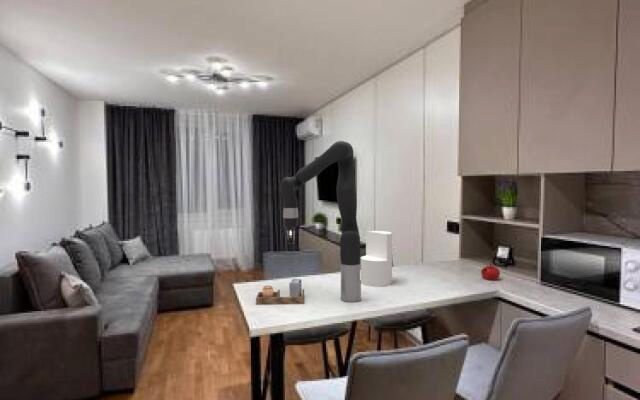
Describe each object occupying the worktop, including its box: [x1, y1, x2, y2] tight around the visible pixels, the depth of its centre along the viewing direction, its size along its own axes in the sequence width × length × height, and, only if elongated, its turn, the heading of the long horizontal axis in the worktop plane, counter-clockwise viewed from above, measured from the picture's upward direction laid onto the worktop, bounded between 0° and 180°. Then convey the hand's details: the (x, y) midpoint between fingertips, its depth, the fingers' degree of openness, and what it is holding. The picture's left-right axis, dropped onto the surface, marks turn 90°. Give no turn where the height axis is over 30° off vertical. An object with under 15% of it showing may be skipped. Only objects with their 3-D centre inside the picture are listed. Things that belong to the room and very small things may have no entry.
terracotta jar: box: [261, 285, 274, 297], centre depth 176 cm, size 5×5×7 cm
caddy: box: [255, 288, 305, 306], centre depth 178 cm, size 22×13×4 cm, turn 92°
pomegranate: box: [480, 262, 501, 281], centre depth 217 cm, size 10×10×9 cm
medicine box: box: [289, 278, 303, 297], centre depth 181 cm, size 8×4×9 cm, turn 172°
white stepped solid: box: [360, 230, 393, 288], centre depth 210 cm, size 17×17×28 cm
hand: (291, 251), depth 190 cm, fingers closed
